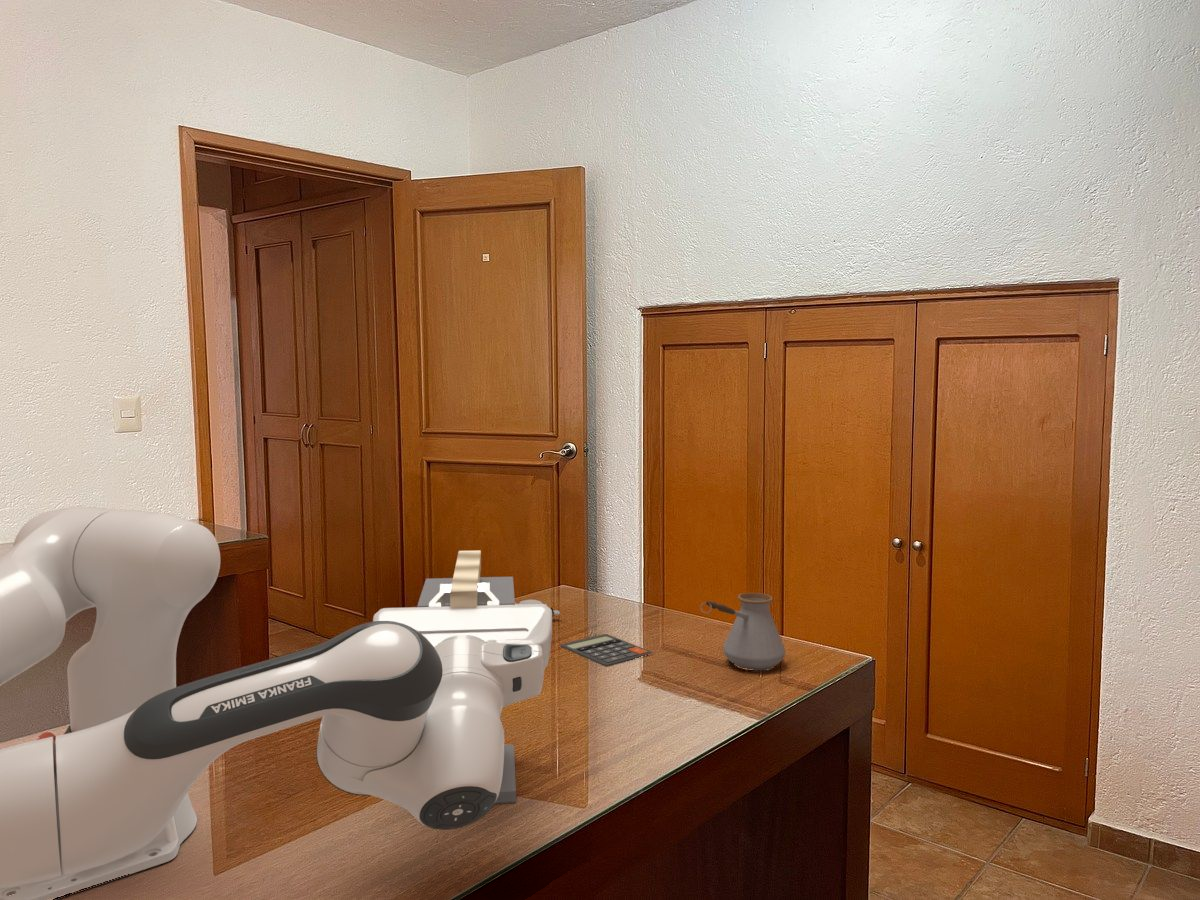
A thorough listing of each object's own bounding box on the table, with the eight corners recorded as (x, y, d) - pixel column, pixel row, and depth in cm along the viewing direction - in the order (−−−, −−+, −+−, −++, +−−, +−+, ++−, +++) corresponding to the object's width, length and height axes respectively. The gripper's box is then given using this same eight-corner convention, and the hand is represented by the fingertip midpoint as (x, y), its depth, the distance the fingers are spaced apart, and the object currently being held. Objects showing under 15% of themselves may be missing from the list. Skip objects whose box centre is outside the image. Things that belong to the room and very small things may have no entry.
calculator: (606, 664, 165) (559, 643, 176) (606, 668, 165) (559, 648, 176) (653, 651, 172) (605, 632, 183) (653, 656, 172) (605, 637, 184)
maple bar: (476, 612, 102) (476, 591, 102) (450, 613, 101) (450, 591, 101) (480, 568, 124) (480, 550, 123) (458, 568, 123) (458, 550, 123)
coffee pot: (745, 650, 174) (747, 575, 173) (797, 664, 166) (799, 585, 165) (677, 678, 159) (678, 595, 157) (730, 694, 151) (732, 608, 149)
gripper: (365, 700, 96) (378, 607, 107) (555, 693, 99) (548, 603, 110) (360, 661, 93) (374, 569, 104) (556, 654, 95) (550, 565, 106)
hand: (465, 586), depth 107 cm, fingers closed on maple bar, 3 cm apart
